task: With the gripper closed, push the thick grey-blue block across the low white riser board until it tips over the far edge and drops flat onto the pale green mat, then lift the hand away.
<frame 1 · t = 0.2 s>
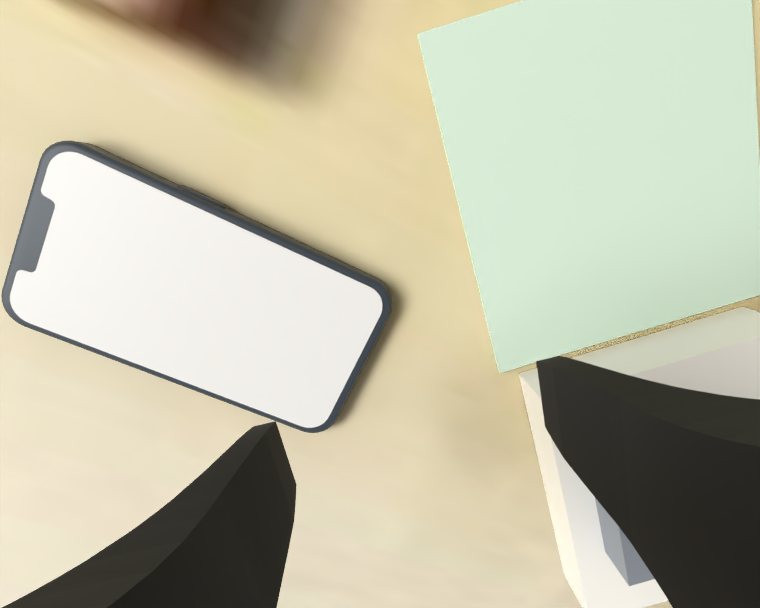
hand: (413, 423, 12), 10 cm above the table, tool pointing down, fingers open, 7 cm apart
mat: (606, 176, 20), on the table
phone case: (214, 295, 21), on the table
thick grey-blue block: (684, 479, 21), point 3 cm above the table, touching deck
deck: (645, 451, 24), on the table
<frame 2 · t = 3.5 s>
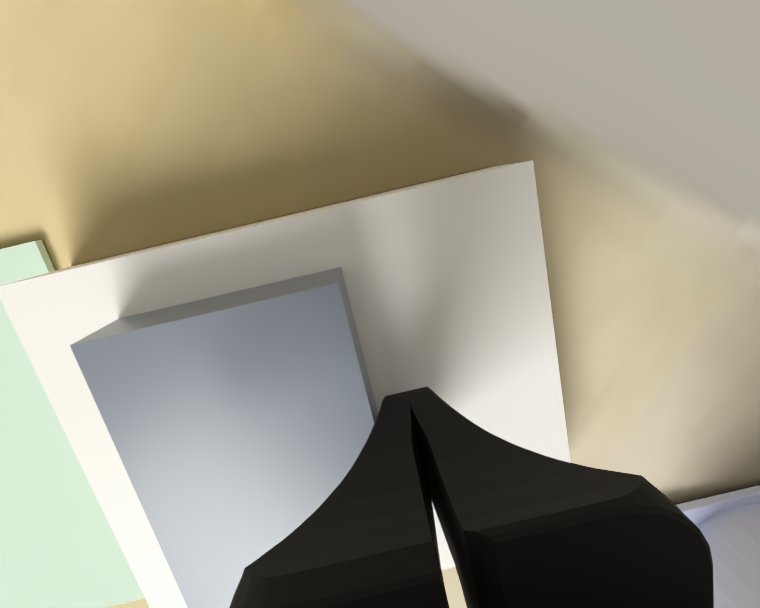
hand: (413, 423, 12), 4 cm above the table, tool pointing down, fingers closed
thick grey-blue block: (278, 439, 12), point 3 cm above the table, touching deck, gripper
deck: (329, 383, 15), on the table
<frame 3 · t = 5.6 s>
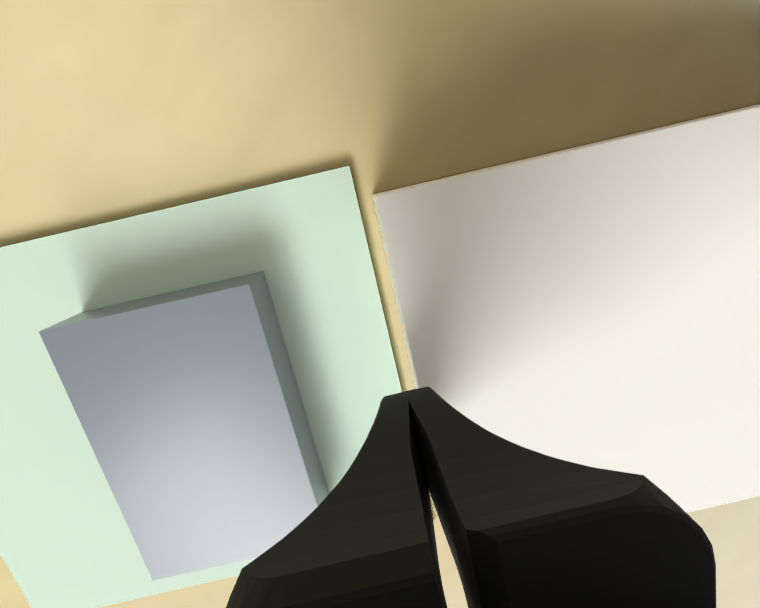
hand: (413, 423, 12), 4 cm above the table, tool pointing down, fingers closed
mat: (178, 417, 15), on the table
thick grey-blue block: (196, 445, 13), point 2 cm above the table, tilted 180°, touching mat
deck: (601, 319, 15), on the table
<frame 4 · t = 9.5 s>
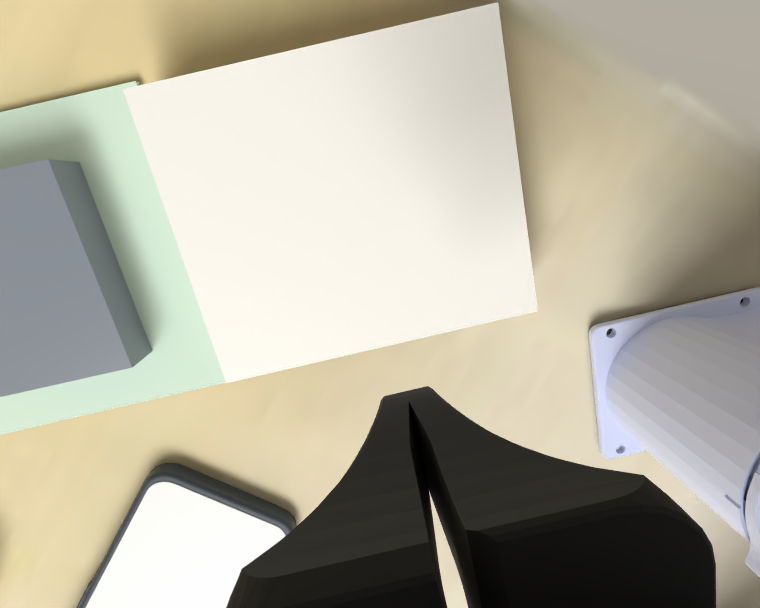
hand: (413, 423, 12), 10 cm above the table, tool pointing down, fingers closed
mat: (27, 282, 20), on the table
phone case: (179, 581, 26), on the table
thick grey-blue block: (22, 286, 18), point 2 cm above the table, tilted 180°, touching mat
deck: (350, 207, 20), on the table
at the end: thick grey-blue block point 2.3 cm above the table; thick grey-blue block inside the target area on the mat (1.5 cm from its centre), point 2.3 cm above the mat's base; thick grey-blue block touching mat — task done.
